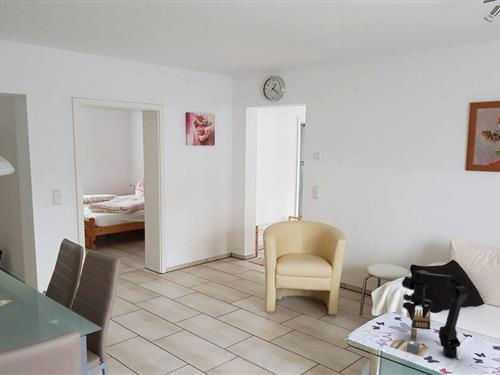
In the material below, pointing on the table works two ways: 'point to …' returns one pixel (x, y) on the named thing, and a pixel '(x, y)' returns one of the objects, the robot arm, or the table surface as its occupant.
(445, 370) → the table surface
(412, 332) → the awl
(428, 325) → the ammunition clip
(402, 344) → the board
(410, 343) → the box
